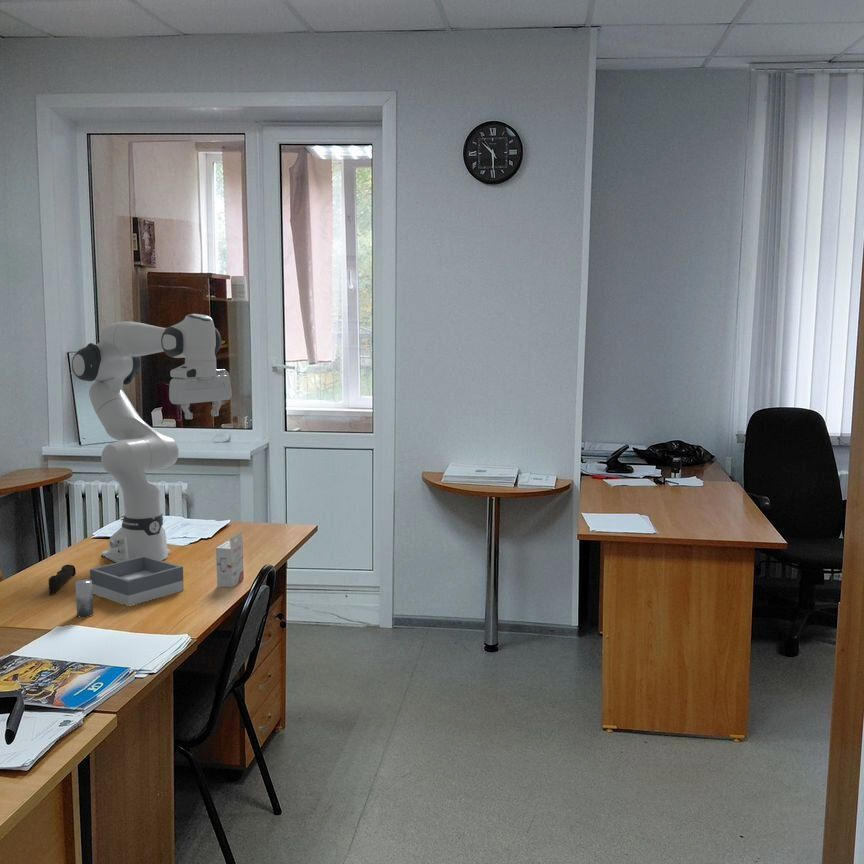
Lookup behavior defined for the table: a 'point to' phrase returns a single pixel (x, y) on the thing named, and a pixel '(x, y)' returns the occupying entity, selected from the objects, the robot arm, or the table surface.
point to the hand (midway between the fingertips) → (202, 417)
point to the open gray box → (137, 580)
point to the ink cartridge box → (230, 562)
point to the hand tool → (61, 578)
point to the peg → (84, 598)
